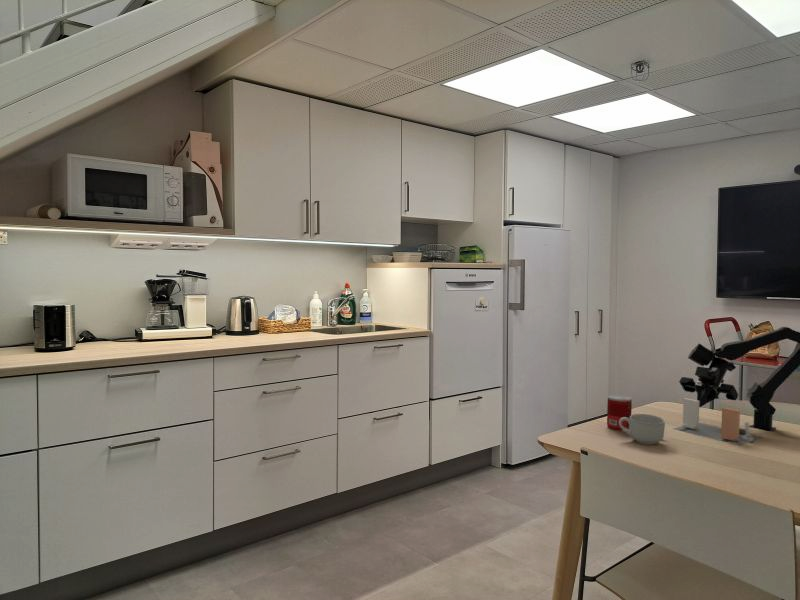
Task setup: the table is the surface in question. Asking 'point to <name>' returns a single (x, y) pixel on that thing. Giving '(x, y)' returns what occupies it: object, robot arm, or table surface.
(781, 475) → the table surface
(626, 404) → the canned food
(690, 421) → the cream paddle
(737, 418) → the tan rectangular block
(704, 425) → the panel
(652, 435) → the teacup
